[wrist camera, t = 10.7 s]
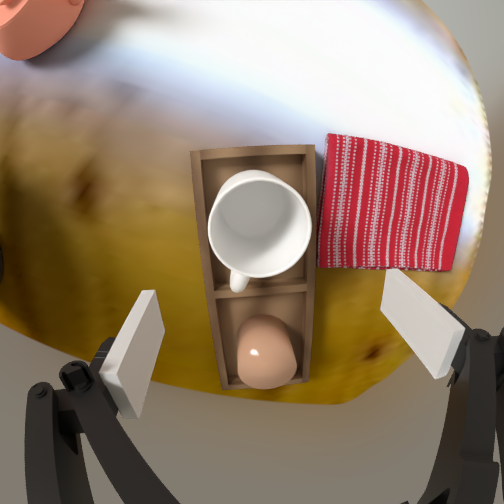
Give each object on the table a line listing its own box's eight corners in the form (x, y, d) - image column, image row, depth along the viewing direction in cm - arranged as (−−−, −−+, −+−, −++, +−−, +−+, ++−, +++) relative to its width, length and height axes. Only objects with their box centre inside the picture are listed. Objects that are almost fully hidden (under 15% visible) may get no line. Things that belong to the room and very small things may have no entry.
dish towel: (442, 269, 39) (451, 276, 36) (308, 265, 37) (313, 273, 34) (462, 165, 33) (473, 167, 30) (323, 131, 31) (330, 129, 28)
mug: (266, 275, 35) (277, 323, 25) (200, 258, 34) (187, 301, 24) (298, 181, 31) (326, 196, 22) (227, 159, 30) (224, 164, 20)
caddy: (222, 376, 42) (222, 389, 39) (194, 151, 31) (190, 151, 28) (304, 369, 42) (308, 381, 39) (307, 145, 31) (314, 144, 28)
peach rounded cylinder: (239, 356, 39) (240, 391, 33) (234, 316, 37) (235, 350, 30) (287, 352, 40) (295, 385, 33) (287, 312, 37) (297, 344, 31)
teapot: (129, -39, 19) (100, -82, 8) (110, 39, 24) (63, 4, 13) (16, 5, 18) (-25, -13, 6) (-2, 80, 23) (-54, 74, 11)
